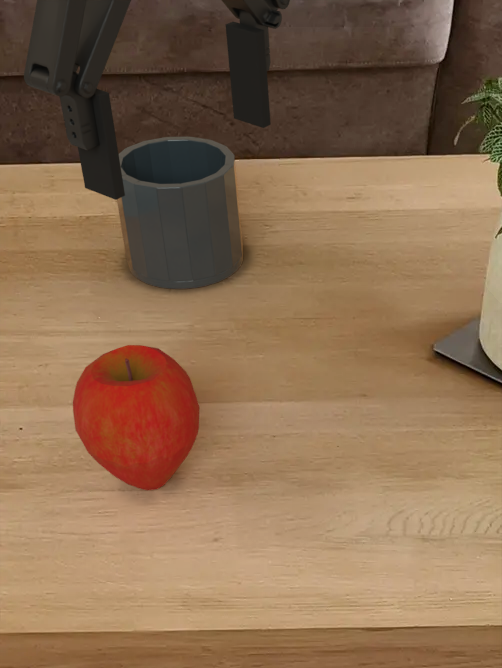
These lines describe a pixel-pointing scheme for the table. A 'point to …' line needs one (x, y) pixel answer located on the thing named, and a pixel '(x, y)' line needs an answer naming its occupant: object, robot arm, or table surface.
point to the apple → (136, 414)
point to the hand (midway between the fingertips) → (183, 155)
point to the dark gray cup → (180, 212)
